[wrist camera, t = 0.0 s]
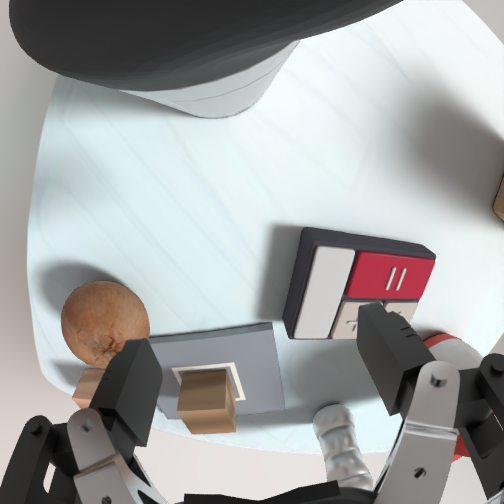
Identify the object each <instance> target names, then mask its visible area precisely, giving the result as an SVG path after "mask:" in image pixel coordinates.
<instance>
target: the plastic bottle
mask: <svg viewBox="0 0 504 504" xmlns="http://www.w3.org/2000/svg"><path fill="white" fill-rule="evenodd" d="M313 429H314V432H315V435H316V437H317V439H318V440H319V443H320V446H321V449H322V452H323V455H324V460H325V465H326V472H327V482H329V481H333V480H337V481H338V485H339V487H356V488H363V489H366V490H370V491H371V490H372V487H373V479H372V476H371V475H370V472H369V470H368V468H367V466H366V465H365V463H364V461H363V458H362V455H361V453H360V450H359V447H358V444H357V439H356V435H355V430H354V420H353V415H352V414H351V412H350V410H349V409H348V408H347V407H345V406H344V405H340V404H334V405H329V406H326V407H324V408H322V409H321V410H319V411H318V412H317V413H316V415H315V417H314V419H313Z"/></svg>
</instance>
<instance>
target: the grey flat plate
mask: <svg viewBox="0 0 504 504" xmlns="http://www.w3.org/2000/svg"><path fill="white" fill-rule="evenodd" d="M148 341H149V343H150V345H151V347H152V349H153V351H154V353H155V356H156V358H157V360H158V362H159V364H160V366H161V369H162V374H163V379H162V384H161V388H160V392H159V396H158V400H157V404H158V406H159V407H160V409H161V410H162V412H163V413H164V415H165V416H166V418H167V419H181V417H180V416H179V414H178V413H177V405H178V399H179V393H180V387H181V382H182V376H183V373H191V372H203V371H213V370H223V369H226V370H227V373H228V376H229V378H230V381H231V384H232V387H233V390H234V393H235V400H236V416H241V415H250V414H259V413H266V412H273V411H280V410H286V409H285V403H284V396H283V390H282V383H281V377H280V370H279V364H278V357H277V351H276V345H275V338H274V332H273V326H272V322H271V323H265V324H259V325H252V326H246V327H239V328H232V329H225V330H217V331H209V332H201V333H193V334H183V335H174V336H163V337H152V338H149V340H148Z"/></svg>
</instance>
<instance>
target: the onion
mask: <svg viewBox="0 0 504 504" xmlns="http://www.w3.org/2000/svg"><path fill="white" fill-rule="evenodd" d="M61 328H62V333H63V337H64V339H65V342H66V343H67V345H68V347H69V348H70V350H71V351H72V353H73V354H74V355H75V356H76V357H77V358H79V359H80V360H82V361H83V362H85V363H86V364H88V365H91V366H94V367H98V368H102V369H106V368H107V365H108V363H109V361H110V360H111V359H112V358H113V357H114V356H115V355H116V354H117V353H118V352H121V351H122V349H123V347H124V345H125V342H126V341H127V340H128V339H139V338H146V339H147V340H149V334H150V326H149V319H148V315H147V312H146V309H145V307H144V305H143V303H142V301H141V300H140V298H139V297H138V296H137V295H136V294H135V293H133V292H132V291H131V290H129V289H128V288H127V287H125V286H123V285H120V284H118V283H115V282H111V281H93V282H90V283H87V284H85V285H83V286H81V287H78V288H77V289H76V290H75V291H74V292H73V293H72V294H71V295H70V296H69V297H68V299H67V301H66V302H65V305H64V307H63V311H62V316H61Z"/></svg>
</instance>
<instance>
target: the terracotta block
mask: <svg viewBox="0 0 504 504" xmlns="http://www.w3.org/2000/svg"><path fill="white" fill-rule="evenodd" d="M105 370H106V369H85V371H84V373H83V375H82V377H81V379H80V381H79V383H78V385H77V388H76V390H75V392H74V394H73V396H72V399H73V400H74V401H75V402H76V403H77V405H78V406H79V407H80V408H81V409H84V408H88V407H89V405H90V402H91V400H92V398H93V396H94V393H95V391H96V389H97V387H98V385H99V382H100V380H102V379H101V378H102V376H103V374H104V372H105Z"/></svg>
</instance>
